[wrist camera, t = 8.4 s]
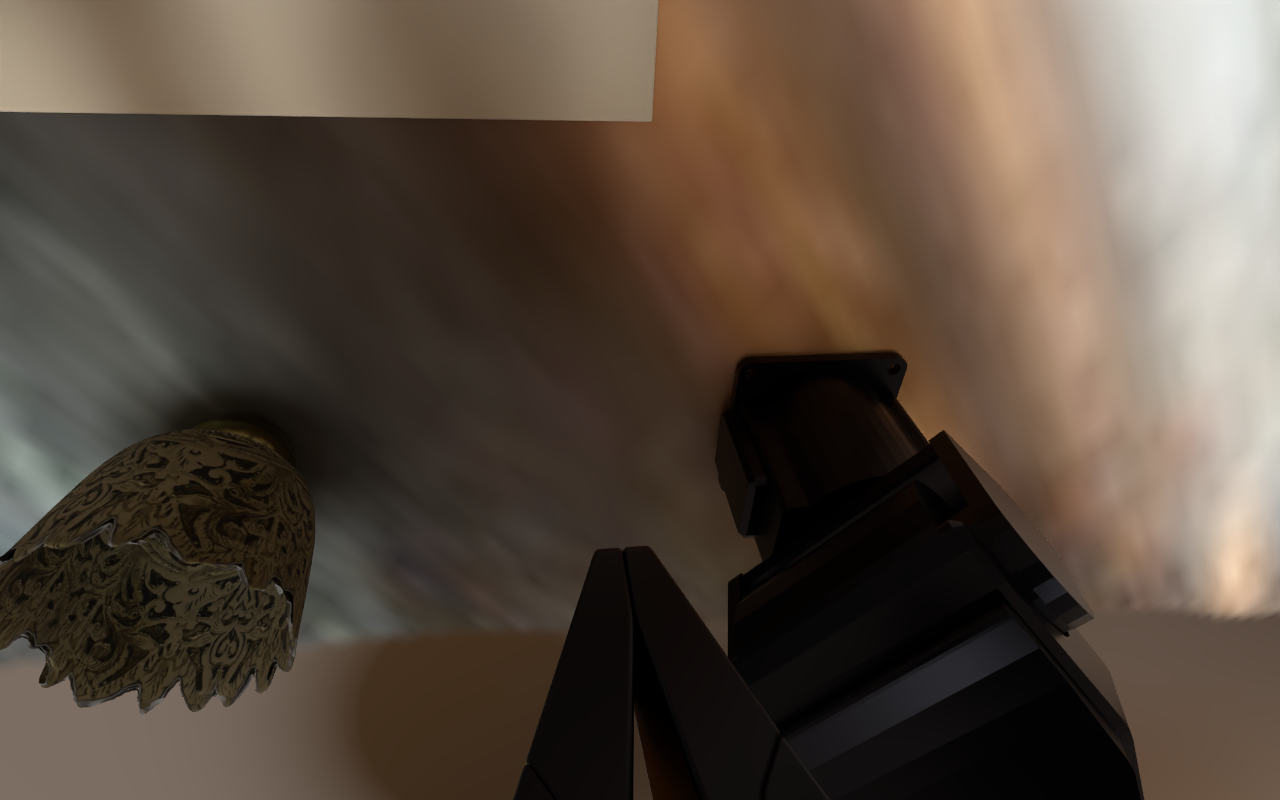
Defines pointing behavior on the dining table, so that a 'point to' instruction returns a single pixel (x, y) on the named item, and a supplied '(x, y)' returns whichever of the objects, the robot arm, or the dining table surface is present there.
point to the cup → (169, 569)
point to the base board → (332, 58)
